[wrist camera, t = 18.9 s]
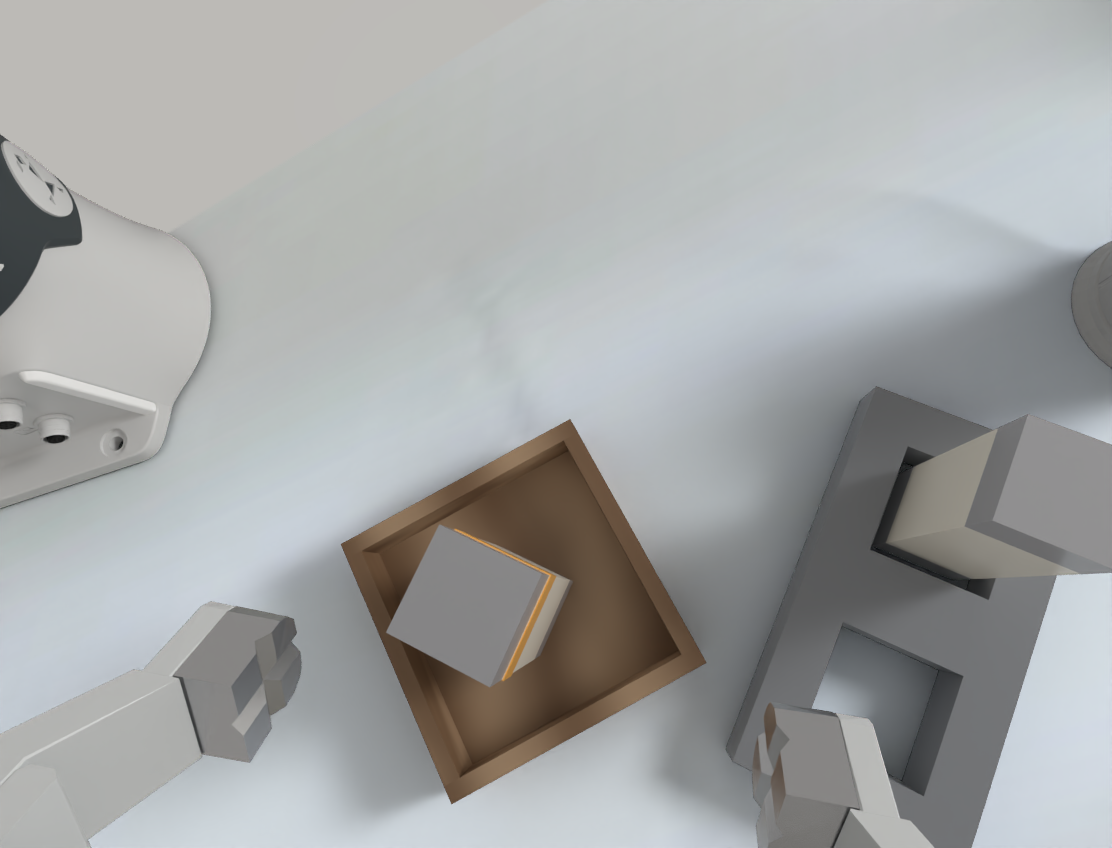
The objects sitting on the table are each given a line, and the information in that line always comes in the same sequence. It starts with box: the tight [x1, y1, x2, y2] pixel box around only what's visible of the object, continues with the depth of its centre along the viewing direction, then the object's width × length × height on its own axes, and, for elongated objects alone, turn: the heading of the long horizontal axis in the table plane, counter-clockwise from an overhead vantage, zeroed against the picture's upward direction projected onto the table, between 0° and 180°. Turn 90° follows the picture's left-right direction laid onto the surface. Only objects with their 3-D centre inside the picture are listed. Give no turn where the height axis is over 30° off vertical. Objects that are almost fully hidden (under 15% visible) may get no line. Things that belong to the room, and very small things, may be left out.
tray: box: [341, 419, 706, 804], centre depth 34 cm, size 13×13×4 cm
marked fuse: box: [386, 524, 573, 687], centre depth 29 cm, size 4×4×12 cm
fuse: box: [872, 414, 1112, 580], centre depth 28 cm, size 4×4×12 cm
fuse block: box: [726, 386, 1057, 848], centre depth 32 cm, size 19×10×2 cm, turn 155°
